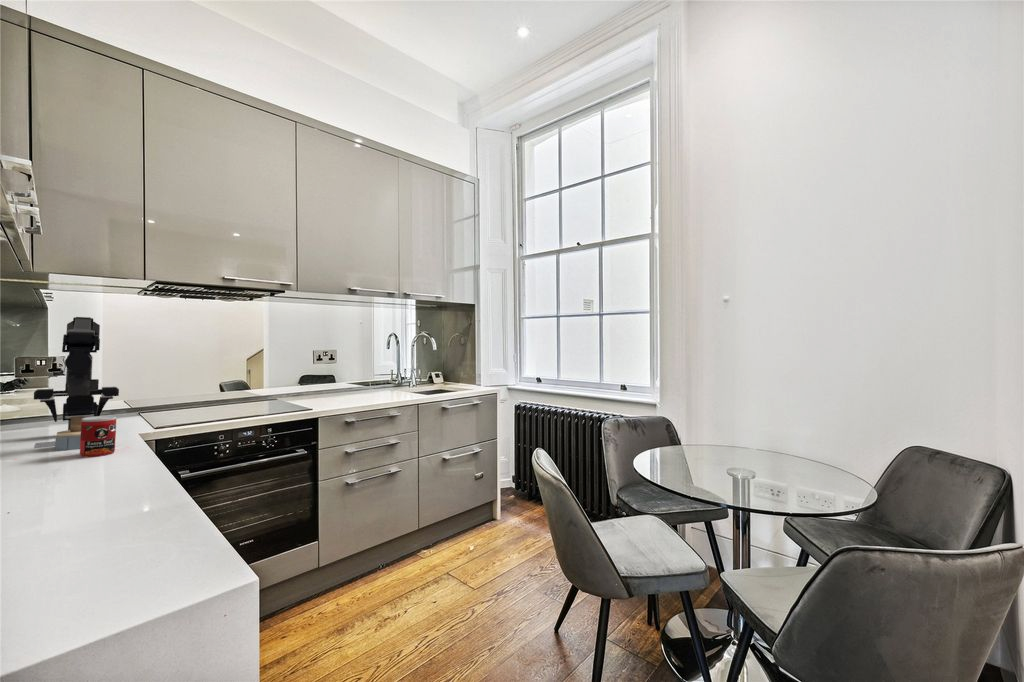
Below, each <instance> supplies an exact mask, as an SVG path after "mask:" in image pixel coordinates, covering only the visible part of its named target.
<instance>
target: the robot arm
mask: <svg viewBox="0 0 1024 682" xmlns="http://www.w3.org/2000/svg"><path fill="white" fill-rule="evenodd" d="M72 319H73V320H71V321H70V322H68V323H67V324H66V333H65V334H63V339H62V347H61V353H68V355H66V358H65V361H64V365H65V367H66V372H65V373H66V374H65V390H54V388H37V389H36V390H34V392H33V400H34V401H35V400H39V402H40V403H45V404H46V406H47V407H48V409H49V411H50V413H51V416H52V419H53V420H54V422H55V423H57V422H58V414H57V407H56V399H55V397H57V398H58V397H66V400H65V402H64V403H63V406H62V407H63V408H62V421H63V422H65V421H68V422H67V430H70V426H71V417H77V416H83V418H87V417H95V416H101V414H102V411H103V409H104V407H105V406H106V404H107V403H108V401H109V400H112V399H114V397H119V396H120V395H119V393H120V389H119V388H118V387H117V386H101V389H99V384H100V382H99V381H100V380H99V379H97V378H95V379H94V378H93V379H92V374H93V355H92V354H91V353H93V354H94V353H97V351H100V346H101V345H100V344H101V339H100V331H101V330H100V329H101V325H100V324H98V323H97V322H95V321H94V318H92V317H90V316H89V317H87V316H75V317H73V318H72ZM98 395H99V399H98V403H97V401H95V397H94V396H98Z"/></svg>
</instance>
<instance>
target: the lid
mask: <svg viewBox="0 0 1024 682" xmlns="http://www.w3.org/2000/svg"><path fill="white" fill-rule="evenodd" d="M83 416H84V415H81V416H70V417H71V426H70V430H68V429H67V430H62V431H58V432H56V435H57V437H76V436H81V421H82V419H83Z"/></svg>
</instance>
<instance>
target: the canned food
mask: <svg viewBox="0 0 1024 682" xmlns="http://www.w3.org/2000/svg"><path fill="white" fill-rule="evenodd" d="M116 435H117V416H115V415H100V416H95V417H87V418H83V419H82V421H81V439H80V449H79V455H80V457H82V458H96V457H97V458H99V457H103V456H108V455H112V454H114V452H115V451H116V439H117V438H116Z"/></svg>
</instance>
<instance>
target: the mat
mask: <svg viewBox="0 0 1024 682" xmlns="http://www.w3.org/2000/svg"><path fill="white" fill-rule="evenodd" d="M48 447H49V448H50V447H55V441H54V440H53V441H41V442H36V443H35V445H34V449H39V448H48Z"/></svg>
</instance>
